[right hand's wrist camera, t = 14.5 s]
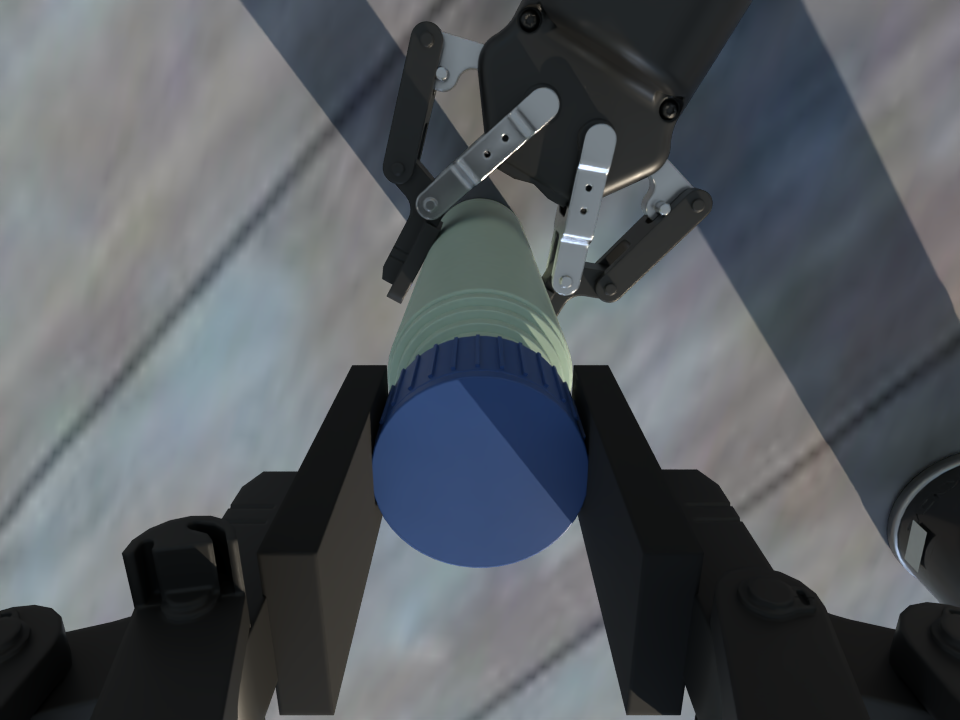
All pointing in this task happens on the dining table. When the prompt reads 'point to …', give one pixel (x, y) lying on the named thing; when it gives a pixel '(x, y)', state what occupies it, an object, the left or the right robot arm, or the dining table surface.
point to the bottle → (480, 290)
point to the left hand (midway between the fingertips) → (450, 323)
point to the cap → (480, 453)
